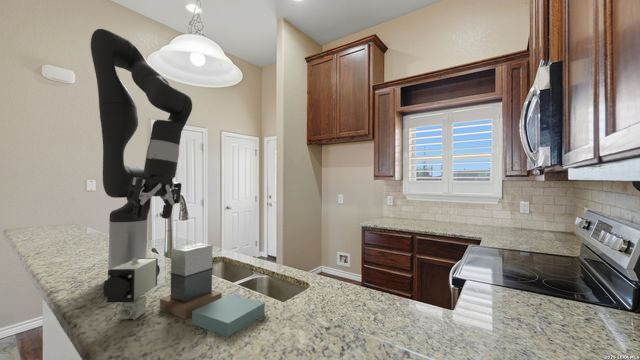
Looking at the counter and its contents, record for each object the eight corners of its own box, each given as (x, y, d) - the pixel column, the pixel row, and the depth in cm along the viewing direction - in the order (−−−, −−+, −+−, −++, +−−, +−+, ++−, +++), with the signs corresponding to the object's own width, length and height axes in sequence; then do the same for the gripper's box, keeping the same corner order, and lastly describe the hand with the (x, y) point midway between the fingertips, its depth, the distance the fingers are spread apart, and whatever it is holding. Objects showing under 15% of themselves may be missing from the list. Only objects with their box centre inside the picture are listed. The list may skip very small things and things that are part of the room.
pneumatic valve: (160, 304, 63) (161, 252, 63) (126, 330, 51) (128, 266, 51) (135, 304, 62) (136, 252, 63) (95, 331, 51) (97, 266, 51)
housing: (169, 299, 59) (170, 248, 60) (198, 288, 66) (199, 243, 66) (184, 303, 57) (185, 251, 57) (212, 292, 63) (213, 245, 64)
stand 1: (159, 310, 59) (160, 298, 60) (195, 296, 67) (196, 286, 67) (186, 319, 55) (186, 307, 55) (221, 303, 63) (221, 292, 63)
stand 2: (191, 323, 54) (192, 311, 54) (230, 304, 62) (230, 293, 62) (228, 337, 49) (228, 323, 49) (264, 314, 58) (264, 302, 58)
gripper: (172, 162, 81) (163, 216, 80) (126, 153, 68) (115, 217, 67) (192, 164, 79) (183, 219, 78) (149, 155, 66) (138, 221, 64)
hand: (152, 218), depth 72 cm, fingers open, 8 cm apart
